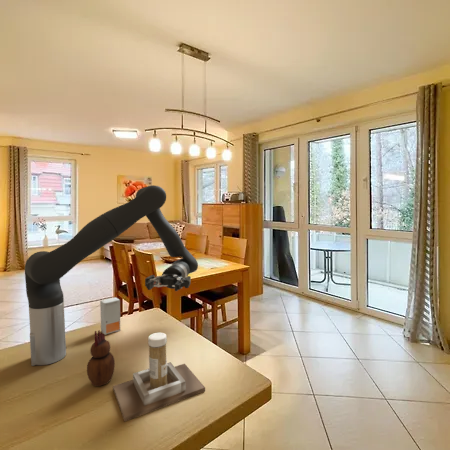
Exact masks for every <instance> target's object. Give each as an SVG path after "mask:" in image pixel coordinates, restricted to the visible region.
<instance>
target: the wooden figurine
mask: <svg viewBox="0 0 450 450" xmlns="http://www.w3.org/2000/svg"><path fill="white" fill-rule="evenodd" d="M105 336H106V335H105V334H104V333H103V332H101V329H99V330H97V331H96V330H95V331H94V342H93V343H92V345H91V346H90V350H89V351H90V355H91V358H89V360H88V362H87V365H86V374H87V378H88V379H89V381H90V383H91V384H92V385H93V386H94V387H101V386H104V385H106V384H108V383H109V382H110V381H111V380H112V378H113V376H114V372H115V368H116V367H115V366H116V364H115V357H114V355H113V353H111V352H110V351H111V344H110V342H109V340H107V339H106V337H105Z"/></svg>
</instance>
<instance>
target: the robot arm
mask: <svg viewBox="0 0 450 450" xmlns="http://www.w3.org/2000/svg"><path fill="white" fill-rule="evenodd" d="M166 201H167V193H166V191H165V189H164V188H163V187H161V186H159V185H152V184H151V185H148V186H145V187H142V188H140V189H139V190H137V191H136V194H135V197H134V198H133V199H130V201H128V202H126V203H123V204H121V205H118V206H116V207H114V208H112V209H110V210H108V211H106V212H103V213H102V214H100V215H98V216H97V217H95V218H94V219H93V220H91V221H89V222H87V224H85V225H84V226H83V227H82V228H81V229H80V230H79V231H78V232H77V233H76V234H75V236H73V238H71V239H69V240H68V241H67V242H65V243H64V244H62V245H60V246H58V247H56V248H55V249H53V250H51V251H44V250H41V251H36V252H34V253H32V254H31V255H30V256H29V257H28V258H27V259H26V262H25V264H24V279H25V289H26V290H25V291H26V293H25V294H26V297H27V302H28V313H29V314H28V315H29V316H28V317H29V318H28V319H29V344H30V345H29V348H30V362H31V366H32V367H33V366H47V365H51V364H54V363H57V362H59V361H61V360H62V359H64V358H65V357H66V355H67V343H66V342H67V341H66V339H67V338H66V324H65V323H66V321H65V301H64V300H65V299H64V291H63V290H62V286H61V279H62V278H63V277H64V276H65V275H66V274H67V273H69V272H70V271H71V270H72V269H73V268H74V267H76V266H77V265H78V264H79V263H80V262H82V261H83V260H85V259H86V258H88V257H90V256H91V255H92V254H94V253H95V252H97V251H98V250H100V249H102V248H103V247H105V246H106V245H107V244H109V243H111V242H112V241H113V240H115V239H116V238H118V237H119V236H120V235H122V234H123V233H124V232H126V231H127V230H129V228H131V227H132V226H134V224H136V223H137V222H139V221H140V220H141V219H143V218H144V217H146V218H147V220H148V221H149V222H150V224H151V225H152V227H153V229H154V230H155V231H156V233H157V235H158V236H159V238H160V240H161V242H162V244H163V246H164V248H165V249H166V251H167V253H168V255H169V256H170V257H171V258H177V257H181V258H180V259H177V260H175V261H173V262H172V263H171V265H169V266H168V267H167V268H166V269H165V270H164V271H162V274H161V275H157V276H155V274H152V275H149V276H147V277H146V278H145V281H144V283H145V284H144V286H145V287H146V290H147V291H150V290H152V289H153V288H154V287H155V288H162V287H167V288H168V289H172V290H173V289H174V291H175V292H178V291H180V290H181V289H183V288H185V289H188V288H189V289H190V286H191V284H192V283H191V280H192V279H191V278H192V277H191V275H190V274H192V273H194V272H196V271H197V270H198V268H199V264H198V261H197V259H196V258H195V256H194V255H192V253H191V252H190V251H189V250H188V249H187V248H186V246H185V245H184V243H183V240H182V238H181V237H180V235H179V233H178V232H177V230H176V228H174V227H173V226H172V224H171V223H170V222H169V221H168V220H167V218H166V217H165V216H164V214H163V212H162V210H161V208H162V207H163V206H164V205H165V203H166Z"/></svg>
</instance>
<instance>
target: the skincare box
mask: <svg viewBox="0 0 450 450" xmlns="http://www.w3.org/2000/svg"><path fill="white" fill-rule="evenodd" d="M99 306H100V307H99V308H100V309H99V310H100V332H101V331H102V332H101V333H102V334H104V336H106V335H108V334H112V333H116V332H120V331H121V299H119V298H118V297H116V296H115V297H111V298H106V299H101V300H99Z"/></svg>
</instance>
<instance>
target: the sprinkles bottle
mask: <svg viewBox="0 0 450 450" xmlns="http://www.w3.org/2000/svg"><path fill="white" fill-rule="evenodd" d="M147 338H148V339H147V340H148V341H147V344H148V351H149V353H148V361H149V363H148V364H149V366H148V367H149V368H148V369H149V370H150V389H155V388H158V387H161V386H164V385H167V384H168V383H167V363H168V362H167V361H168V360H167V359H168V358H167V341H168V340H167V339H168V338H167V334H166V333H164V332H154V333H151V334H150V335H149V336H148V337H147Z"/></svg>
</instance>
